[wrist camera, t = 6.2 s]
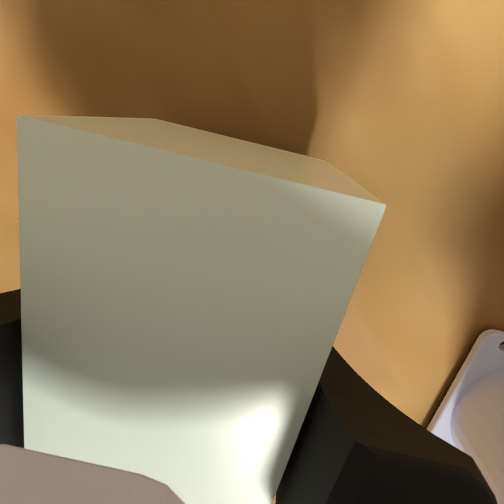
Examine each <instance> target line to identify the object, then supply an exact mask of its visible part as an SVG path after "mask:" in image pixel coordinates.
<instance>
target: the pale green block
mask: <svg viewBox="0 0 504 504" xmlns="http://www.w3.org/2000/svg"><path fill="white" fill-rule="evenodd" d="M17 156H18V199H19V242H20V285H21V329H22V372H23V415H24V448H25V449H29V450H34V451H38V452H43V453H48V454H52V455H57V456H61V457H66V458H70V459H75V460H80V461H84V462H89V463H93V464H98V465H102V466H107V467H112V468H116V469H121V470H125V471H130V472H134V473H139V474H142V475H145V476H147V477H150V478H152V479H154V480H157V481H159V482H162V483H164V484H167V485H168V486H169V487H170V488H171V489H172V490H173V491H174V492H175V493H176V494H177V495H178V496H179V497H180V498H181V499H182V500H183V501H184V503H185V504H272V502H273V499H274V496H275V494H276V491H277V489H278V486H279V483H280V481H281V478H282V476H283V473H284V470H285V468H286V465H287V463H288V460H289V457H290V455H291V452H292V450H293V447H294V444H295V442H296V439H297V437H298V434H299V431H300V429H301V426H302V424H303V421H304V419H305V416H306V413H307V411H308V408H309V406H310V403H311V400H312V398H313V395H314V393H315V390H316V387H317V385H318V382H319V380H320V377H321V374H322V372H323V369H324V367H325V364H326V361H327V359H328V356H329V354H330V351H331V348H332V346H333V343H334V341H335V338H336V335H337V333H338V330H339V328H340V325H341V322H342V320H343V317H344V315H345V312H346V309H347V307H348V304H349V302H350V299H351V296H352V294H353V291H354V289H355V286H356V283H357V281H358V278H359V276H360V273H361V270H362V268H363V265H364V263H365V260H366V257H367V255H368V252H369V250H370V247H371V244H372V242H373V239H374V237H375V234H376V231H377V229H378V226H379V224H380V221H381V218H382V216H383V213H384V211H385V208H386V204H385V203H384V202H382V201H381V200H380V199H378V198H377V197H375V196H374V195H373V194H371V193H370V192H369V191H367V190H366V189H365V188H363V187H362V186H360V185H359V184H358V183H356V182H355V181H354V180H352V179H351V178H350V177H348V176H347V175H346V174H344V173H343V172H341V171H340V170H339V169H337V168H336V167H335V166H333V165H332V164H331V163H329V162H328V161H326V160H322V159H317V158H313V157H309V156H305V155H301V154H297V153H293V152H289V151H285V150H281V149H277V148H273V147H269V146H265V145H261V144H257V143H253V142H248V141H244V140H240V139H236V138H232V137H228V136H224V135H220V134H216V133H212V132H208V131H204V130H200V129H196V128H192V127H188V126H184V125H180V124H175V123H171V122H167V121H163V120H159V119H155V118H124V117H89V116H54V115H19V114H17Z"/></svg>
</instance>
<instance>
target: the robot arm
mask: <svg viewBox="0 0 504 504" xmlns="http://www.w3.org/2000/svg"><path fill="white" fill-rule="evenodd" d="M502 342H504V331H499V330H495V329H489V330H486V331H484V332H482V333H481V334H480V335H479V337H478V339H477V340H476V342H475V344H474V346H473V347H472V349H471V351H470V353H469V355H468V356H467V358H466V360H465V362H464V363H463V365H462V367H461V369H460V371H459V372H458V374H457V376H456V378H455V380H454V381H453V383H452V385H451V387H450V388H449V390H448V392H447V394H446V396H445V397H444V399H443V401H442V403H441V404H440V406H439V408H438V410H437V412H436V413H435V415H434V417H433V419H432V420H431V422H430V424H429V426H428V428H427V429H425V428H424V427H422V426H421V425H419V424H418V423H416V422H415V421H414V420H412V419H411V418H409V417H408V416H407V415H405V414H404V413H402V412H401V411H400V410H398V409H397V408H396V407H395V406H393V405H392V404H391V403H390V402H388V401H387V400H386V399H385V398H383V397H382V396H381V395H380V394H379V393H377V392H376V391H375V390H374V389H373V388H372V387H371V386H370V385H369V384H368V383H366V382H365V381H364V380H363V379H362V378H361V377H360V376H359V375H358V374H357V373H356V372H355V371H354V370H353V369H352V368H351V367H350V366H349V364H348V363H347V362H346V361H345V360H344V359H343V358H342V357H341V355H340V354H339V353H338V352H337V351H336V350H335V348H334V347H333V346H332V348H331V351H330V354H329V356H328V359H327V361H326V364H325V367H324V369H323V372H322V374H321V377H320V380H319V382H318V385H317V387H316V390H315V393H314V395H313V398H312V400H311V403H310V406H309V408H308V411H307V413H306V416H305V419H304V421H303V424H302V426H301V429H300V431H299V434H298V437H297V439H296V442H295V444H294V447H293V450H292V452H291V455H290V457H289V460H288V463H287V465H286V468H285V470H284V473H283V476H282V478H281V481H280V483H279V486H278V489H277V491H276V504H504V344H502V345H500V344H501V343H502ZM0 504H185V503H184V501H183V500H182V499H181V498H180V497H179V496H178V495H177V494H176V493H175V492H174V491H173V490H172V489H171V488H170V487H169V486H168V485H167V484H164V483H162V482H159V481H157V480H154V479H152V478H150V477H147V476H145V475H142V474H139V473H134V472H130V471H125V470H121V469H116V468H112V467H107V466H102V465H98V464H93V463H89V462H84V461H80V460H75V459H70V458H66V457H61V456H57V455H52V454H48V453H43V452H38V451H34V450H29V449H25V448H24V415H23V372H22V329H21V289H18V290H14V291H10V292H5V293H0Z"/></svg>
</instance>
